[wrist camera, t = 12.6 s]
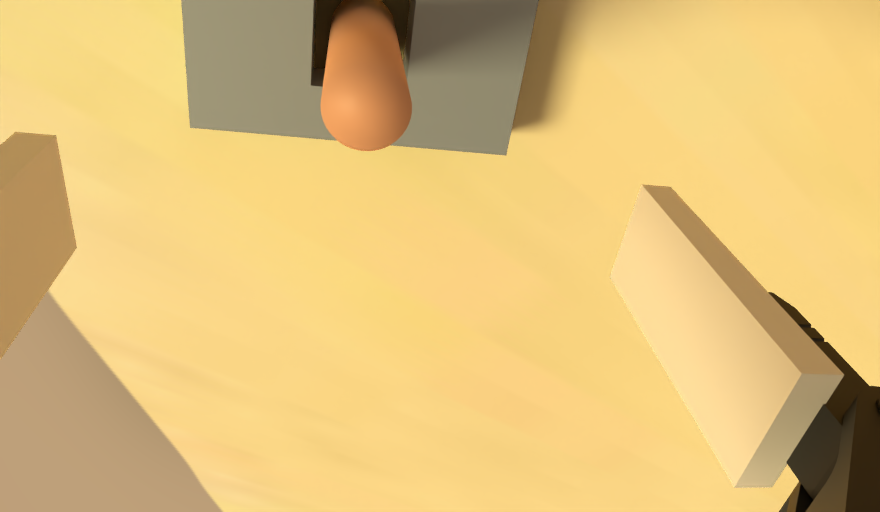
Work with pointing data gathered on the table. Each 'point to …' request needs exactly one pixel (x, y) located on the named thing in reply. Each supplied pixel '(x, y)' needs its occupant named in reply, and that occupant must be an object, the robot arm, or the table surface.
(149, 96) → the table surface
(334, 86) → the peg
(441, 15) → the hole block
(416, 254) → the table surface
